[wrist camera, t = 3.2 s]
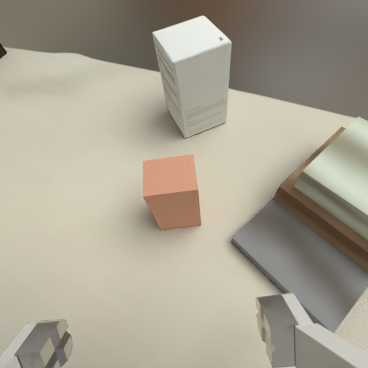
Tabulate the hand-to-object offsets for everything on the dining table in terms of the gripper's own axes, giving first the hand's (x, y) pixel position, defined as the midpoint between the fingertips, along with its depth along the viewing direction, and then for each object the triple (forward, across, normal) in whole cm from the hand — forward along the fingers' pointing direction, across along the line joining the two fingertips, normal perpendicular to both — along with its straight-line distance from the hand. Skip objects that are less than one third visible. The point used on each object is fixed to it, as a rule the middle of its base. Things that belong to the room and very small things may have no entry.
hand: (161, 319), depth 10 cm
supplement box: (+32, -4, -9) cm, 33 cm away
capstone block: (+20, 0, +3) cm, 20 cm away
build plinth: (+18, -17, +5) cm, 25 cm away
